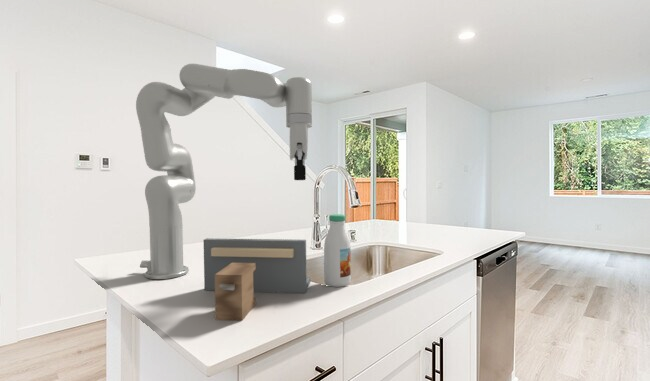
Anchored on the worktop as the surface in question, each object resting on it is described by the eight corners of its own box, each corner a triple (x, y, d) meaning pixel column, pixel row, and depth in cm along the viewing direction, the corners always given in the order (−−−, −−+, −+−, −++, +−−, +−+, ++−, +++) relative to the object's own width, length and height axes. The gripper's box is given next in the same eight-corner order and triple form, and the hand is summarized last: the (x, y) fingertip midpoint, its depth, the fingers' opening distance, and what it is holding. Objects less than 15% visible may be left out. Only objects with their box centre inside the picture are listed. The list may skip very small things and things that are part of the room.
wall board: (201, 292, 90) (200, 241, 90) (219, 279, 102) (218, 233, 102) (304, 295, 88) (303, 242, 87) (310, 281, 100) (310, 234, 99)
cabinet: (213, 321, 72) (212, 275, 72) (232, 302, 83) (231, 262, 83) (240, 322, 72) (239, 276, 71) (256, 303, 83) (255, 263, 82)
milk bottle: (330, 289, 93) (330, 217, 92) (320, 281, 100) (319, 214, 99) (355, 285, 96) (355, 215, 95) (343, 278, 103) (343, 212, 102)
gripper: (287, 126, 107) (287, 179, 108) (285, 116, 90) (286, 180, 91) (310, 126, 108) (311, 179, 108) (313, 116, 91) (313, 180, 91)
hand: (299, 180), depth 100 cm, fingers open, 9 cm apart
